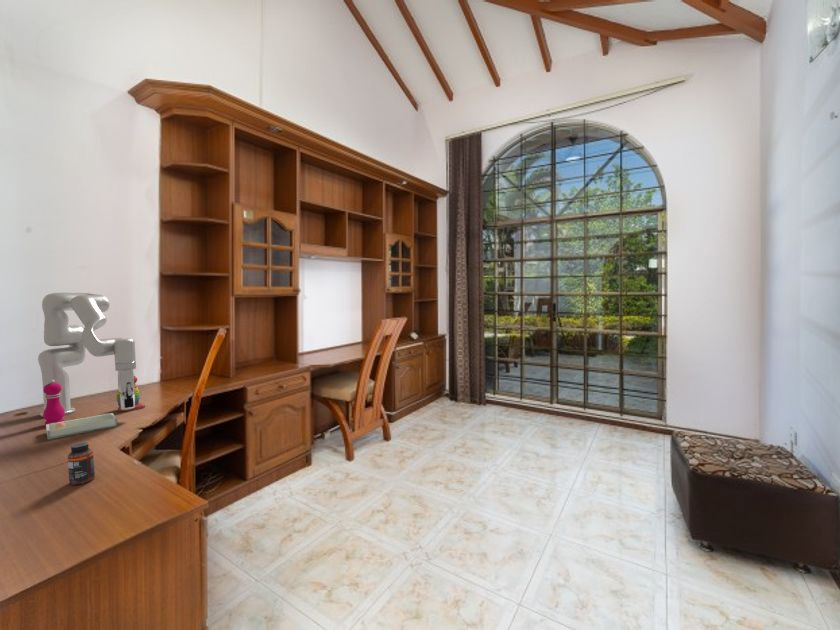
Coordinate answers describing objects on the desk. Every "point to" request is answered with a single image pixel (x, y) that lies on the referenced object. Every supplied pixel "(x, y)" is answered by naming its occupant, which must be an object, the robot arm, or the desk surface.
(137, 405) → the stacking bear
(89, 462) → the supplement bottle
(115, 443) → the desk surface
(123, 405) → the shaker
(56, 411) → the pepper mill
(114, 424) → the tray
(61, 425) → the ball
